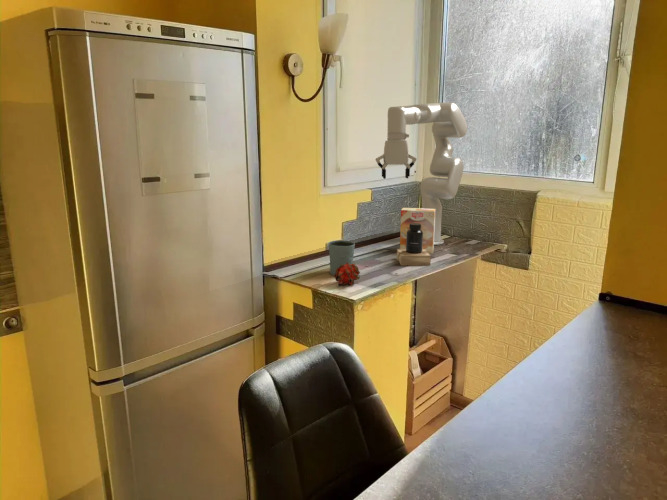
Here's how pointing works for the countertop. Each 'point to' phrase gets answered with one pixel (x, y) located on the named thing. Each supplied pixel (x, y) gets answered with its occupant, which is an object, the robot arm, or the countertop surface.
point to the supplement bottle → (414, 239)
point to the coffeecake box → (427, 226)
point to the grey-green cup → (340, 254)
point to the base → (413, 258)
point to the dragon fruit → (346, 274)
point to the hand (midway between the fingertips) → (395, 178)
